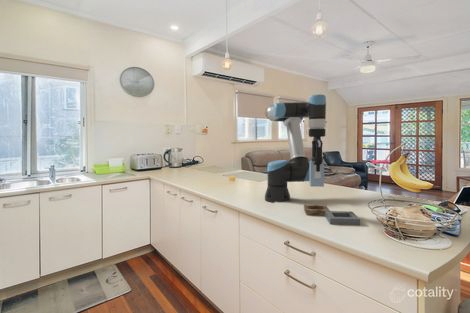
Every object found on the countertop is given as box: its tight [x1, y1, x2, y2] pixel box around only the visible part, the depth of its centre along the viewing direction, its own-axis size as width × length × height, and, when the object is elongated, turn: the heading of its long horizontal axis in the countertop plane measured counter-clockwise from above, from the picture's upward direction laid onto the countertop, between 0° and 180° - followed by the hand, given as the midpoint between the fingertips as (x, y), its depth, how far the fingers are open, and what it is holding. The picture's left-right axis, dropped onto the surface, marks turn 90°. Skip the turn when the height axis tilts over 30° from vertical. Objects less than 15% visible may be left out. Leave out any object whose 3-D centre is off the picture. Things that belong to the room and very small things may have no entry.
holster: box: [303, 204, 331, 217], centre depth 118 cm, size 10×8×3 cm
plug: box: [308, 156, 325, 188], centre depth 117 cm, size 6×4×14 cm, turn 82°
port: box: [324, 210, 361, 226], centre depth 107 cm, size 12×10×3 cm
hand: (316, 177), depth 117 cm, fingers closed on plug, 4 cm apart
